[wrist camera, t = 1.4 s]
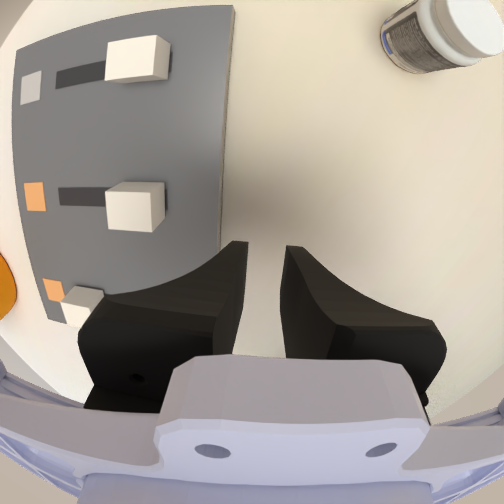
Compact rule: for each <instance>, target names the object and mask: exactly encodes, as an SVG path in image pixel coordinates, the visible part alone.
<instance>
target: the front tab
mask: <svg viewBox="0 0 504 504" xmlns="http://www.w3.org/2000/svg"><path fill="white" fill-rule="evenodd" d="M170 46H171V44H170V43H168V42H167V41H165V40H164V39H162V38H161V37H159V36H158V35H151V36H143V37H136V38H130V39H124V40H119V41H113V42H108V48H107V58H106V68H105V81H110V82H117V83H132V82H142V81H154V80H168V68H169V56H170Z"/></svg>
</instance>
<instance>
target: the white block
mask: <svg viewBox="0 0 504 504" xmlns="http://www.w3.org/2000/svg"><path fill="white" fill-rule="evenodd" d="M103 297H104V294H103V290H96V289H91V288H85V287H79V286H74V287H73V288H72V289H71V290H70V291H69V292H68V294H67V295H66V296H65V297H64V298H63V299H62V300H61V301H60V303H61V306H62V310H63V313H64V316H65V319H66V322H67V324H68V325H70V326H74V327H78V328H81V327H82V325H83V324H84V322H85V321H86V319H87V318H88V317H89V315H90V314H91V313H92V311H93V310H94V308H95V307H96V306H97V304H98V303H99V302H100V301H101V299H102V298H103Z"/></svg>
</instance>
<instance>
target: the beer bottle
mask: <svg viewBox="0 0 504 504" xmlns="http://www.w3.org/2000/svg"><path fill="white" fill-rule="evenodd" d="M15 300H16V286H15V282H14V279H13V276H12V274H11V271H10V269H9V267H8V265H7V264H6V262H5V260H4V259H3V257H2V256H1V255H0V320H1V319H2V318H3V317H4V316H5V315H6V314H7V313H8V312H9V311H10V310H11V308H12V307H13V305H14V303H15Z"/></svg>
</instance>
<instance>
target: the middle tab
mask: <svg viewBox="0 0 504 504" xmlns="http://www.w3.org/2000/svg"><path fill="white" fill-rule="evenodd" d="M105 198H106V210H107V220H108V229H114V230H127V231H141V232H153V231H154V230H155V229H156V227H157V226H158V225H159V224H160V223H161V222H162V221H163V220H164V219H165V194H164V182H121V183H119V184H118V185H116V186H114V187H112V188H110V189H109V190H107V191H105Z"/></svg>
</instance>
